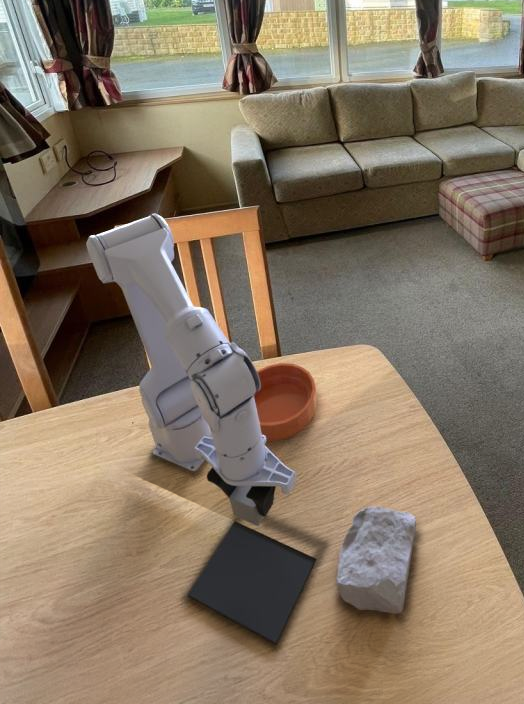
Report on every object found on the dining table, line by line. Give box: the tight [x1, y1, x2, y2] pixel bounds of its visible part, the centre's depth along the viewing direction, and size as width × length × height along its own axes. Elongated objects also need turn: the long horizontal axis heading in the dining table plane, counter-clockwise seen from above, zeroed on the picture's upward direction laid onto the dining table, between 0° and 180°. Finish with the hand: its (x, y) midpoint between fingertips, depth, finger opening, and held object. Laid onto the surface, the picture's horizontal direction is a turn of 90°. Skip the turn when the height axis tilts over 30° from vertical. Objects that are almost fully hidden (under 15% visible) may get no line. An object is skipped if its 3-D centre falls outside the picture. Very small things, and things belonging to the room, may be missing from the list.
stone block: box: [336, 505, 417, 615], centre depth 67 cm, size 12×5×10 cm
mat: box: [187, 520, 317, 645], centre depth 67 cm, size 14×12×1 cm
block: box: [228, 486, 275, 527], centre depth 66 cm, size 4×4×4 cm
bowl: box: [254, 362, 318, 442], centre depth 90 cm, size 14×14×4 cm
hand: (253, 503), depth 67 cm, fingers closed on block, 4 cm apart
